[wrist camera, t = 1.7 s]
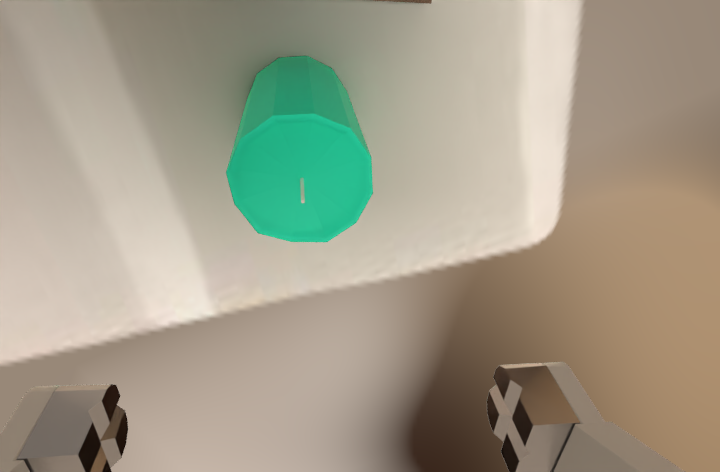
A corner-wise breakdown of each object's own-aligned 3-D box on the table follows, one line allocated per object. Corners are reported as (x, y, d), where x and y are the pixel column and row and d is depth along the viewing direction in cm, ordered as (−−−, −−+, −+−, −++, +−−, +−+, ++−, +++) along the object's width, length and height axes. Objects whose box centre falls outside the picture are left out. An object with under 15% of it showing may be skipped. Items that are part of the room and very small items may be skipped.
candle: (252, 44, 26) (227, 110, 16) (358, 66, 27) (398, 140, 17) (242, 146, 29) (215, 257, 19) (338, 162, 30) (362, 273, 20)
